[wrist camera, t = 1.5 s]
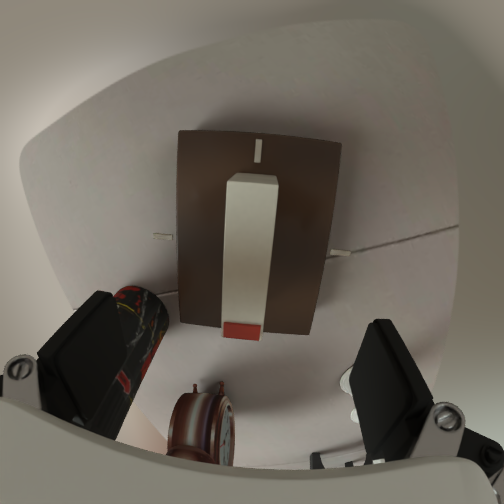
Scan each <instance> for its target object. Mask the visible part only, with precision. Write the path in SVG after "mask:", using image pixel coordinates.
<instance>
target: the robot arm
mask: <svg viewBox="0 0 504 504" xmlns="http://www.w3.org/2000/svg"><path fill="white" fill-rule="evenodd" d="M37 355H38V357H39V358H38V359H37V360H35V359H34V358H33V357H32V356H30V355H26V354H24V355H18V356H15V357H13V358H12V359H11V360H9V361H8V362H7V364H6V366H5V368H4V373H3V375H0V504H504V450H503V448H502V447H501V446H500V444H499V443H497V442H495V441H494V440H491V439H489V438H487V437H485V436H483V435H480V434H478V433H476V432H474V431H472V430H470V429H468V428H466V427H465V417H464V414H463V412H462V411H461V410H460V409H459V408H458V407H457V406H455V405H454V404H452V403H448V402H440V403H436V404H434V402H433V400H432V399H433V396H432V394H431V392H430V390H429V388H428V386H427V384H426V382H425V380H424V379H423V377H422V375H421V373H420V371H419V369H418V367H417V365H416V363H415V362H414V360H413V358H412V356H411V354H410V353H409V351H408V349H407V347H406V345H405V344H404V342H403V340H402V338H401V337H400V335H399V333H398V331H397V330H396V328H395V326H394V325H393V323H392V321H391V320H390V319H375V320H374V321H373V323H369V325H368V327H367V330H366V333H365V336H364V339H363V342H362V344H361V347H360V350H359V352H358V355H357V358H356V360H355V363H354V365H353V368H352V370H351V373H350V376H349V385H350V388H351V392H352V396H353V400H354V404H355V407H356V411H357V415H358V419H359V424H360V428H361V432H362V436H363V441H364V445H365V449H366V452H367V453H368V454H369V453H370V454H371V459H372V461H373V460H379V459H384V460H385V462H384V463H378V464H371V465H363V466H354V467H343V468H331V469H312V470H274V469H255V468H242V467H232V466H223V465H216V464H209V463H203V462H197V461H191V460H186V459H181V458H176V457H172V456H167V455H163V454H159V453H155V452H151V451H147V450H143V449H140V448H137V447H133V446H130V445H127V444H124V443H120V442H117V441H114V440H112V439H109V438H106V437H103V436H100V435H98V434H95V433H93V432H90V431H88V430H85V429H83V428H80V427H78V426H75V425H73V424H70V423H71V421H72V420H73V421H74V422H76V423H79V424H81V425H83V426H85V425H86V423H87V421H88V420H91V419H92V418H93V417H94V415H95V413H96V411H97V409H98V407H99V406H100V404H101V402H102V400H103V398H104V397H105V395H106V393H107V391H108V390H109V388H110V386H111V384H112V383H113V381H114V379H115V377H116V376H117V374H118V372H119V370H120V369H121V367H122V365H123V364H124V362H125V360H126V358H127V348H126V344H125V340H124V335H123V331H122V326H121V321H120V317H119V311H118V306H117V301H116V298H115V297H113V295H112V293H110V292H104V291H96V292H95V293H94V294H93V295H92V296H91V297H90V298H89V299H88V300H87V301H86V302H85V303H84V304H83V305H82V306H81V307H80V308H79V309H78V310H77V311H76V312H75V313H74V314H73V315H72V316H71V317H70V318H69V319H68V320H67V321H66V322H65V323H64V324H63V325H62V326H61V327H60V328H59V329H58V330H57V331H56V332H55V333H54V335H53V336H52V337H51V338H50V339H49V340H48V341H47V342H46V343H45V344H44V345H43V347H42V348H41V349H40V350H39V351H38V352H37Z"/></svg>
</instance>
